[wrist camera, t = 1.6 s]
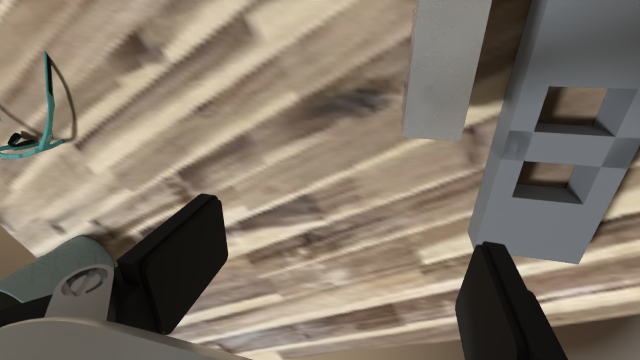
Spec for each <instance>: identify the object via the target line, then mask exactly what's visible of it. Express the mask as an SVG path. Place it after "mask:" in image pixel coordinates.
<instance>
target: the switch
mask: <svg viewBox="0 0 640 360" xmlns="http://www.w3.org/2000/svg"><path fill="white" fill-rule="evenodd" d="M549 86H554V87H586V88H609V89H608V91H607V93H606V96H605V98H604V100H603V103H602V105H601V107H600V110H599V112H598V114H597V117H596V119H595V121H594V124H593V126H586V125H567V124H549V123H537V121H538V118H539V115H540V112H541V109H542V106H543V103H544V100H545V97H546V94H547V91H548V88H549ZM639 146H640V0H531V4H530V8H529V11H528V15H527V19H526V22H525V26H524V29H523V33H522V37H521V40H520V44H519V48H518V51H517V55H516V58H515V62H514V66H513V69H512V73H511V77H510V80H509V84H508V88H507V91H506V95H505V98H504V102H503V106H502V109H501V113H500V117H499V120H498V124H497V127H496V131H495V135H494V138H493V142H492V146H491V149H490V153H489V156H488V160H487V164H486V167H485V171H484V175H483V178H482V182H481V186H480V189H479V193H478V196H477V200H476V204H475V207H474V211H473V215H472V218H471V222H470V225H469V229H468V234H469V237H470V240H471V243H472V246H473V248H474V249H475V246H476V245H477V244H480V245H482V243H483V242H484V241H488V242H494V243H500V244H504V245H505V246H506V248H507V250H508V252H509V254H510V255H516V256H523V257H530V258H537V259H544V260H551V261H558V262H566V263H573V264H579V262H580V260H581V258H582V256H583V254H584V252H585V251H586V249H587V247H588V245H589V243H590V241H591V239H592V237H593V235H594V233H595V231H596V229H597V227H598V225H599V223H600V221H601V220H602V218H603V216H604V214H605V212H606V210H607V208H608V206H609V204H610V202H611V200H612V198H613V196H614V194H615V192H616V190H617V188H618V187H619V185H620V183H621V181H622V179H623V177H624V175H625V173H626V171H627V169H628V167H629V165H630V163H631V161H632V159H633V157H634V156H635V154H636V152H637V150H638V148H639ZM524 161H531V162H544V163H556V164H569V165H576V166H575V168H574V171H573V173H572V175H571V178H570V180H569V182H568V185H567V187H566V188H557V187H546V186H536V185H525V184H516V183H517V180H518V177H519V174H520V171H521V168H522V165H523V162H524Z"/></svg>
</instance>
